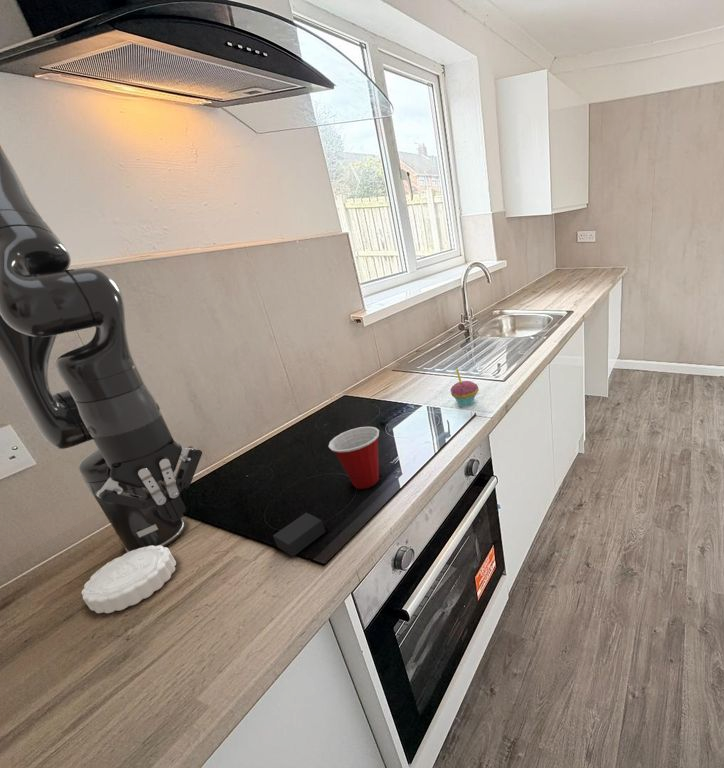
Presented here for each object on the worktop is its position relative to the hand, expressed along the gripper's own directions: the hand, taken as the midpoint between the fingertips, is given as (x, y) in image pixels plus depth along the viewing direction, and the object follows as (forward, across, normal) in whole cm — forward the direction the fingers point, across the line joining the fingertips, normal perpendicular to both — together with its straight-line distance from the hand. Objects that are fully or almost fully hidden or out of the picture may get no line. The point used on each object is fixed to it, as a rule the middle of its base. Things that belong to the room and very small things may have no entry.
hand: (175, 517), depth 64 cm
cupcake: (+16, -75, -1) cm, 77 cm away
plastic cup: (+16, -33, +1) cm, 37 cm away
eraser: (+16, -14, +4) cm, 22 cm away
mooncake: (+16, +6, -14) cm, 23 cm away
